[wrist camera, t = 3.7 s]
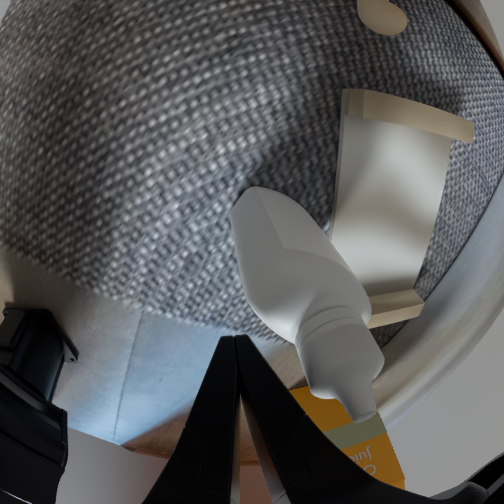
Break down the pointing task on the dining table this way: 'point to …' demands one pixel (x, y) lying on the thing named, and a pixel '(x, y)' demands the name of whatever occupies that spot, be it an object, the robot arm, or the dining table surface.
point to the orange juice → (354, 436)
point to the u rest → (390, 193)
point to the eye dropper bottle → (307, 297)
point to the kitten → (382, 16)
